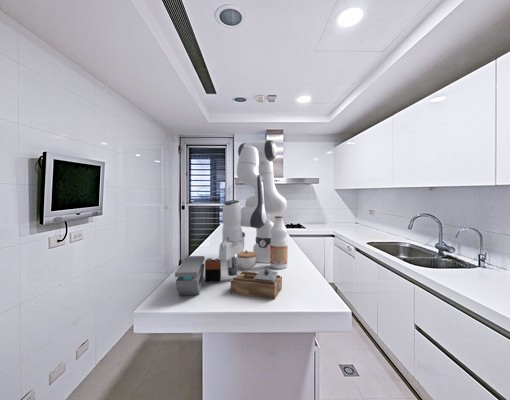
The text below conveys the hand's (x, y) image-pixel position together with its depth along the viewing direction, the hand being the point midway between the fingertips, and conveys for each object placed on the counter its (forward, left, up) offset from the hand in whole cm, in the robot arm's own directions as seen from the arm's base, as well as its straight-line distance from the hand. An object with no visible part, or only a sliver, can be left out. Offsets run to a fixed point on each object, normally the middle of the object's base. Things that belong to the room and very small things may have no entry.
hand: (232, 265), depth 116 cm
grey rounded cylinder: (0, 0, -4) cm, 4 cm away
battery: (+4, -8, -7) cm, 11 cm away
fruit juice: (-28, +15, -7) cm, 33 cm away
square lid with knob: (+9, +19, -2) cm, 21 cm away
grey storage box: (+17, -11, -7) cm, 21 cm away
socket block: (+9, +15, -7) cm, 19 cm away
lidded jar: (-20, -1, -7) cm, 21 cm away
